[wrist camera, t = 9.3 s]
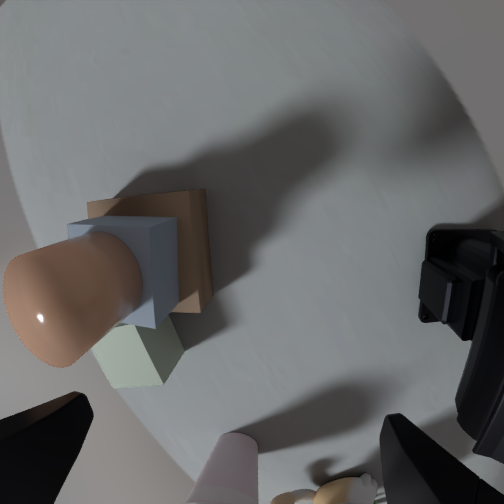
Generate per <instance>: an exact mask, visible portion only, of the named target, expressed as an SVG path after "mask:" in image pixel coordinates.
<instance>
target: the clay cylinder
mask: <svg viewBox="0 0 504 504" xmlns="http://www.w3.org/2000/svg"><path fill="white" fill-rule="evenodd" d="M142 291H143V281H142V274H141V270H140V267H139V264H138V262H137V259H136V258H135V256H134V254H133V253H132V251H131V250H130V248H129V247H128V246H127V245H126V244H125V243H124V242H123V241H122V240H121V239H119V238H118V237H116V236H114V235H112V234H110V233H107V232H102V231H95V232H91V233H87V234H84V235H81V236H77V237H74V238H71V239H68V240H64V241H61V242H58V243H55V244H52V245H49V246H46V247H43V248H40V249H37V250H34V251H31V252H28V253H25V254H22V255H19V256H17V257H15V258H14V259H12V260H11V262H10V263H9V265H8V266H7V268H6V271H5V275H4V280H3V295H4V302H5V307H6V310H7V313H8V317H9V319H10V322H11V324H12V326H13V328H14V330H15V332H16V333H17V335H18V337H19V338H20V340H21V341H22V342H23V344H24V345H25V346H26V347H27V348H28V350H29V351H30V352H31V353H32V354H34V355H35V356H36V357H37V358H38V359H40V360H41V361H43V362H44V363H46V364H48V365H51V366H54V367H59V368H64V367H68V366H70V365H72V364H73V363H74V362H76V361H77V360H78V359H79V358H80V357H81V356H82V355H83V354H85V353H86V352H87V351H88V350H89V349H90V348H92V347H93V346H94V345H95V344H96V343H97V342H98V341H100V340H101V339H102V338H103V337H104V336H105V335H107V334H108V333H109V332H110V331H111V330H112V329H114V328H115V327H116V326H117V325H118V324H119V323H121V322H122V321H123V320H124V319H125V318H126V317H128V316H129V315H130V314H131V313H132V312H133V311H134V310H135V309H136V308H137V306H138V304H139V302H140V300H141V296H142Z"/></svg>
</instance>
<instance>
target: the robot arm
mask: <svg viewBox="0 0 504 504" xmlns="http://www.w3.org/2000/svg"><path fill="white" fill-rule="evenodd" d="M434 234H435V235H436V238H435V240H432V236H433V235H434ZM419 299H420V307H419V314H418V317H419V319H420V320H421V322H423V323H430V322H439V321H441V322H442V323H443V324H447V325H448V326H449V327H450V328H451V329H452V330H453V331H454V332H455V333H456V334H457V335H458V336H459V337H460V339H461V340H462V341H467V340H471V342H472V343H471V347H470V351H469V354H468V358H467V361H466V365H465V368H464V371H463V374H462V377H461V380H460V383H459V386H458V389H457V393H456V397H455V402H456V407H457V412H458V416H457V421H458V423H459V424H460V426H461V427H462V429H463V430H464V431H465V432H466V433H467V434H468V435H470V436H471V437H472V438H473V439H474V440H476V441H477V442H476V444H475V446H474V447H473V449H472V451H473V453H475V454H478V455H482V456H487V457H491V458H493V459H495V460H497V461H499V462H501V463H503V464H504V231H496V230H488V229H432V230H430V231H428V233H427V236H426V249H425V260H424V261H423V263H422V269H421V279H420V288H419ZM426 313H428V314H427V316H426V317H423V316H424V315H425V314H426ZM93 417H94V415H93V410H92V408H91V406H90V403H89V401H88V398H87V396H86V395H85V394H83V393H80V392H75V391H74V392H71V393H69V394H66V395H64V396H61V397H59V398H56V399H54V400H51V401H49V402H46V403H43V404H41V405H38V406H36V407H33V408H31V409H28V410H25V411H23V412H20V413H17V414H15V415H12V416H9V417H7V418H3V419H1V420H0V504H54V502H55V500H56V498H57V496H58V494H59V492H60V490H61V488H62V486H63V484H64V482H65V480H66V478H67V476H68V474H69V472H70V470H71V468H72V466H73V464H74V462H75V461H76V459H77V457H78V454H79V452H80V450H81V448H82V445H83V443H84V440H85V437H86V435H87V433H88V430H89V428H90V425H91V423H92V420H93ZM380 450H381V460H382V471H383V482H384V489H385V494H386V499H387V504H504V495H503V494H502V493H500V492H499V491H497V490H496V489H495V488H493V487H492V486H490V485H489V484H488V483H487V482H485V481H484V480H483V479H480V478H479V476H477V475H476V474H475V473H474V472H472V471H471V470H470V469H469V468H467V467H466V466H465V465H464V464H462V463H461V462H460V461H459V460H457V459H456V458H455V457H454V456H452V455H451V454H450V453H449V452H447V451H446V450H445V449H444V448H442V447H441V446H440V445H439V444H437V443H436V442H435V441H434V440H433V439H431V438H430V437H429V436H428V435H426V434H425V433H424V432H423V431H422V430H420V429H419V428H418V427H417V426H416V425H414V424H413V423H412V422H411V421H409V420H408V419H407V418H406V417H405V416H403V415H402V414H400V413H396V414H388V415H387V416H386V417H385V419H384V422H383V426H382V429H381V433H380Z"/></svg>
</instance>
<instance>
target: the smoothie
mask: <svg viewBox="0 0 504 504" xmlns="http://www.w3.org/2000/svg"><path fill="white" fill-rule="evenodd" d="M184 504H258V445H257V443H256V441H255V440H254V439H253V438H251V437H250V436H248V435H245V434H242V433H226V434H224V435H222V436H221V437H220V438H219V439H218V441H217V443H216V445H215V447H214V449H213V451H212V453H211V455H210V457H209V458H208V460H207V462H206V464H205V466H204V468H203V470H202V472H201V474H200V475H199V477H198V479H197V481H196V483H195V485H194V487H193V488H192V490H191V492H190V494H189V496H188V497H187V499H186V501H185V503H184Z"/></svg>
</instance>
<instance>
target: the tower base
mask: <svg viewBox="0 0 504 504" xmlns="http://www.w3.org/2000/svg"><path fill="white" fill-rule="evenodd" d="M87 209H88V219H91V218H95V217H99V216H147V217H177V247H178V284H179V304H178V305H177V306H176V307H175V308H174V309H173V310H172V311H171V312H184V313H201V312H202V310H203V309H204V307H205V306H206V304H207V303H208V302H209V300H210V299H211V297H212V296H213V294H214V293H213V283H212V272H211V261H210V249H209V237H208V224H207V211H206V196H205V189H200V190H188V191H176V192H166V193H156V194H146V195H137V196H128V197H120V198H112V199H105V200H99V201H92V202H87Z"/></svg>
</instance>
